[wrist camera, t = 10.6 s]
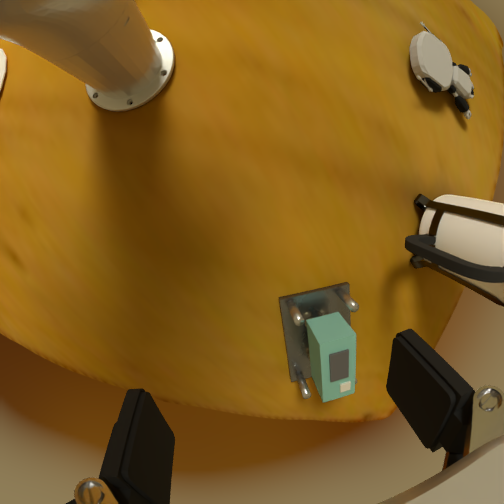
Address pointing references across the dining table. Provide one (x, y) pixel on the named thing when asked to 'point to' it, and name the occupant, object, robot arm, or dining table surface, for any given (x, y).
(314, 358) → the teal block
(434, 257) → the coffee press
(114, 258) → the dining table surface
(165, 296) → the dining table surface
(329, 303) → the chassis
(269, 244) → the dining table surface
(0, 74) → the desk lamp
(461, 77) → the robot toy
